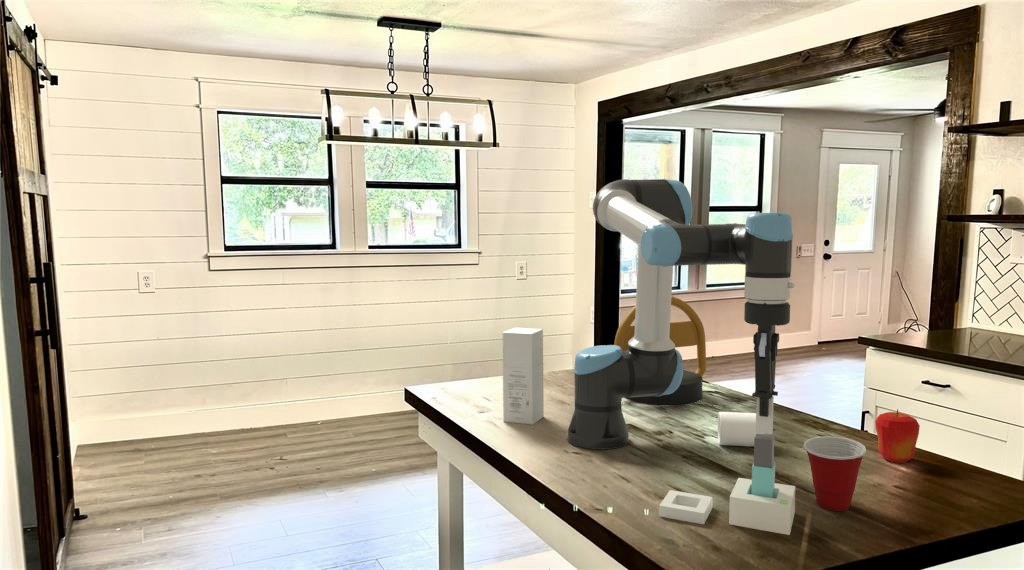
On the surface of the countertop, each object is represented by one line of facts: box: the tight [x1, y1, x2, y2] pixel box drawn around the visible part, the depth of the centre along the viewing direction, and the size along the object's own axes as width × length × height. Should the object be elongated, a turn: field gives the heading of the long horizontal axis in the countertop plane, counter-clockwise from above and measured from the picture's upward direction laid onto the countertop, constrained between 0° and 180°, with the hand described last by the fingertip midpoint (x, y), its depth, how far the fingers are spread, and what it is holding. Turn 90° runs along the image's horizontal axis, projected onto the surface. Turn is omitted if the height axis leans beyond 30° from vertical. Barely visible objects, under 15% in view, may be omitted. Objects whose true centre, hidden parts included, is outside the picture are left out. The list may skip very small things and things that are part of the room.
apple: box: [874, 408, 921, 464], centre depth 156 cm, size 9×8×12 cm
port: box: [728, 477, 796, 536], centre depth 124 cm, size 10×10×6 cm
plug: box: [751, 434, 776, 498], centre depth 124 cm, size 4×4×14 cm
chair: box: [613, 296, 707, 406], centre depth 216 cm, size 25×35×32 cm
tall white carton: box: [502, 327, 545, 426], centre depth 191 cm, size 9×9×25 cm
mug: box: [717, 411, 763, 448], centre depth 170 cm, size 12×10×8 cm
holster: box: [658, 489, 713, 525], centre depth 127 cm, size 8×8×3 cm
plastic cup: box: [803, 435, 867, 512], centre depth 131 cm, size 11×11×12 cm
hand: (764, 432), depth 123 cm, fingers closed
